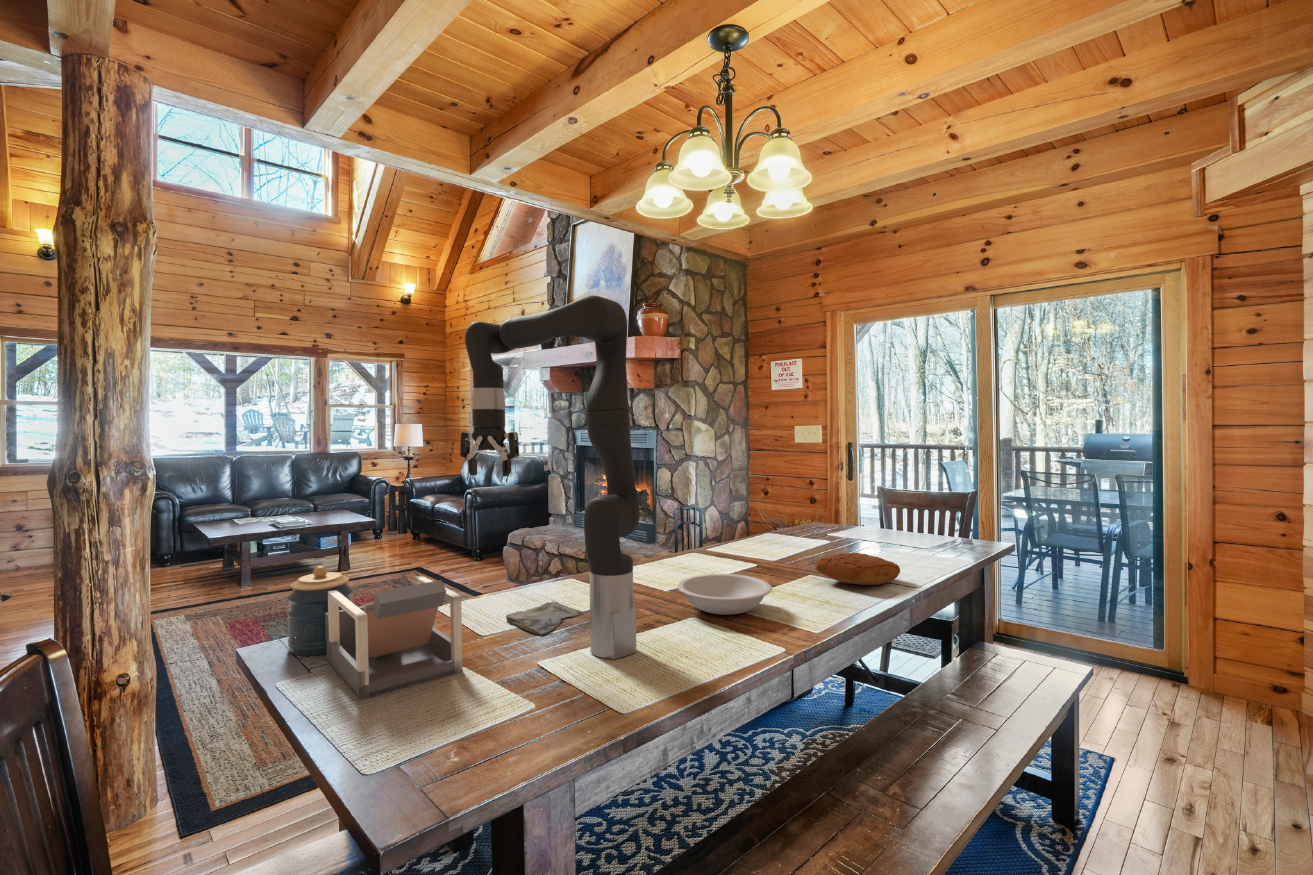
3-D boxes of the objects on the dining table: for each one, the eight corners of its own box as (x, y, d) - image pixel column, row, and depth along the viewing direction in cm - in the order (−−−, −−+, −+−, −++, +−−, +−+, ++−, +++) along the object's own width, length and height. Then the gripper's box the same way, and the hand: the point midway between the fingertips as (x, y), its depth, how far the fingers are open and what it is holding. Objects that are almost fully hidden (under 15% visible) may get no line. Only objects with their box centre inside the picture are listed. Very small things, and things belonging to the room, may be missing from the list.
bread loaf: (857, 596, 173) (857, 567, 172) (810, 582, 187) (810, 556, 187) (905, 583, 185) (906, 556, 185) (858, 572, 199) (858, 547, 199)
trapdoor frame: (462, 670, 123) (461, 595, 123) (359, 699, 111) (357, 616, 110) (419, 639, 141) (417, 573, 141) (326, 661, 129) (324, 589, 128)
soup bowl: (791, 614, 157) (791, 588, 157) (718, 633, 144) (718, 605, 144) (729, 592, 177) (729, 569, 177) (659, 607, 164) (659, 582, 163)
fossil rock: (550, 607, 166) (550, 598, 166) (593, 618, 157) (593, 608, 157) (497, 625, 151) (497, 616, 151) (541, 638, 143) (541, 628, 143)
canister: (343, 631, 147) (341, 556, 146) (363, 645, 138) (361, 566, 137) (280, 645, 138) (278, 566, 137) (297, 662, 128) (295, 576, 128)
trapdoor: (360, 673, 119) (354, 656, 122) (433, 654, 128) (426, 639, 131) (374, 604, 111) (368, 588, 113) (451, 590, 120) (444, 575, 123)
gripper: (453, 407, 146) (454, 476, 147) (508, 407, 143) (509, 477, 143) (470, 408, 154) (471, 473, 154) (523, 407, 150) (524, 474, 151)
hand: (489, 475), depth 149 cm, fingers open, 8 cm apart
